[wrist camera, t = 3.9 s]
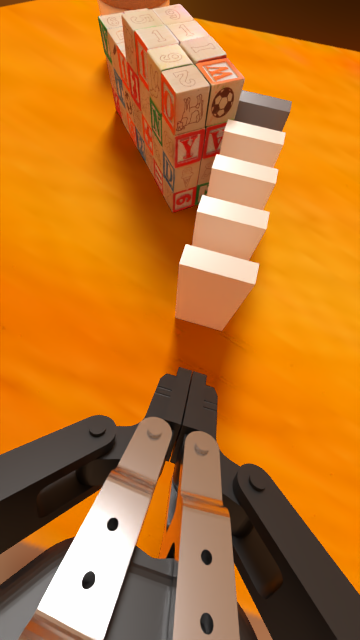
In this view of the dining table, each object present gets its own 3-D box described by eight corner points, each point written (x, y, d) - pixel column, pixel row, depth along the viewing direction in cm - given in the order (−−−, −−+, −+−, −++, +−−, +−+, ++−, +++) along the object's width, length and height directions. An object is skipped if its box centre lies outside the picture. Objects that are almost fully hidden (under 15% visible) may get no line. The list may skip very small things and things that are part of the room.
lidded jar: (95, 65, 39) (74, -34, 30) (122, 33, 43) (110, -63, 34) (156, 81, 38) (153, -16, 29) (178, 48, 42) (181, -48, 33)
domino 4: (186, 281, 26) (196, 211, 17) (190, 269, 27) (202, 195, 17) (230, 293, 26) (266, 229, 16) (233, 280, 26) (269, 212, 17)
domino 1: (214, 193, 31) (234, 99, 21) (217, 184, 31) (238, 89, 22) (252, 202, 30) (289, 112, 21) (254, 193, 31) (291, 101, 22)
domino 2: (206, 219, 29) (224, 130, 20) (209, 209, 30) (228, 119, 20) (245, 229, 29) (283, 145, 19) (248, 219, 29) (285, 132, 20)
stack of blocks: (114, 110, 36) (88, -32, 24) (153, 101, 37) (146, -39, 25) (172, 214, 29) (175, 90, 18) (217, 200, 30) (247, 74, 19)
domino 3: (197, 248, 28) (211, 167, 18) (200, 237, 28) (216, 153, 19) (238, 259, 27) (275, 183, 18) (241, 248, 28) (278, 169, 18)
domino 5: (175, 317, 25) (179, 263, 15) (179, 304, 25) (185, 243, 16) (221, 331, 24) (255, 284, 15) (225, 317, 25) (259, 263, 15)
